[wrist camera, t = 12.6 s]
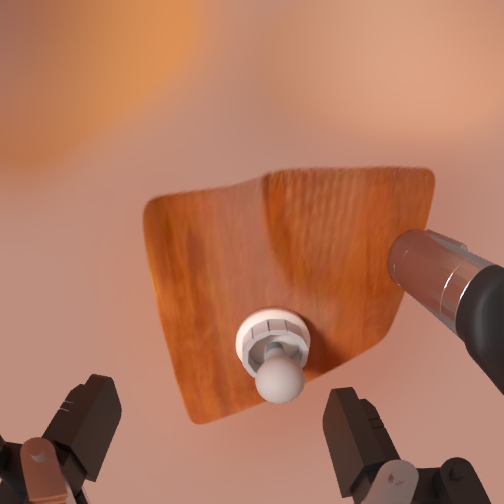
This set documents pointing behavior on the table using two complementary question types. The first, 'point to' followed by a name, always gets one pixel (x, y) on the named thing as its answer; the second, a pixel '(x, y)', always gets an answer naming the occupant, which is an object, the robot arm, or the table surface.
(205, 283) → the table surface
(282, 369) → the lightbulb
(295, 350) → the lamp base
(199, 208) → the table surface
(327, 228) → the table surface
